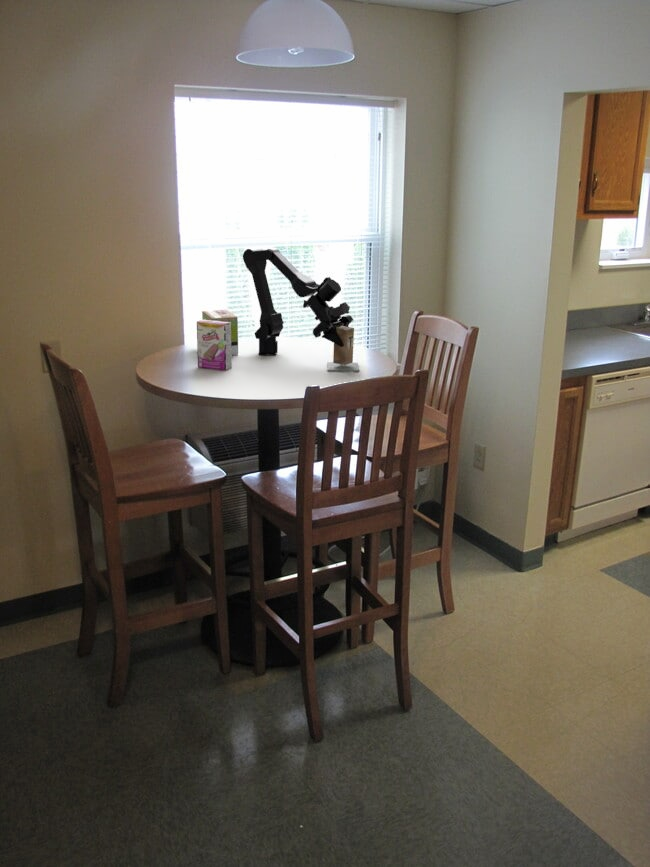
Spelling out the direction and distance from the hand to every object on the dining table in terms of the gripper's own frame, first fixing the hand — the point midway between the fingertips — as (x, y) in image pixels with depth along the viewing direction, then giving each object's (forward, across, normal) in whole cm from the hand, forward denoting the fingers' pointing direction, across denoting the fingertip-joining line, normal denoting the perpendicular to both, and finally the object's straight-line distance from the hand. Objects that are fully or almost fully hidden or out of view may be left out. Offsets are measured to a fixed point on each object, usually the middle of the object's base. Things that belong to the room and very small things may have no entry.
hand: (346, 345), depth 268 cm
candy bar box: (-19, -28, +32) cm, 47 cm away
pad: (+5, 0, +7) cm, 9 cm away
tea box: (-30, -8, +43) cm, 53 cm away
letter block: (+4, 0, +6) cm, 7 cm away
